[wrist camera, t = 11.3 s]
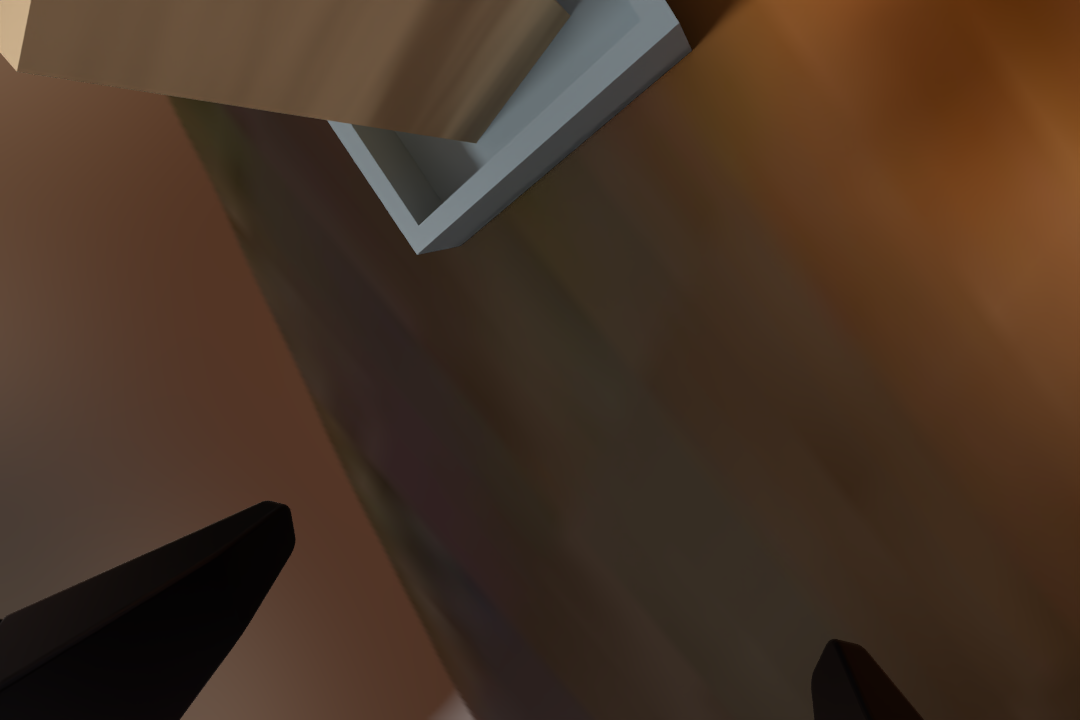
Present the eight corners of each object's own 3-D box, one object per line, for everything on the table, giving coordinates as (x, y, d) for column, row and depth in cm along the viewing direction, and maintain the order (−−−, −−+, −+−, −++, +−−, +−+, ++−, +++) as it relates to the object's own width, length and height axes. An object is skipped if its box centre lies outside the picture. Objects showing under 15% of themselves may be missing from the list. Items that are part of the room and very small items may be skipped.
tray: (691, 50, 16) (679, 23, 13) (460, 245, 21) (417, 254, 18) (502, -255, 15) (448, -349, 12) (311, 20, 20) (243, -6, 17)
